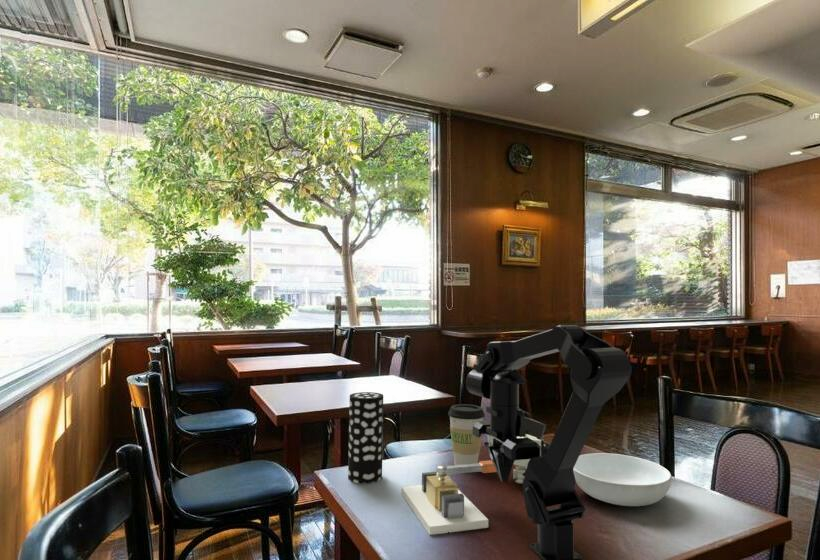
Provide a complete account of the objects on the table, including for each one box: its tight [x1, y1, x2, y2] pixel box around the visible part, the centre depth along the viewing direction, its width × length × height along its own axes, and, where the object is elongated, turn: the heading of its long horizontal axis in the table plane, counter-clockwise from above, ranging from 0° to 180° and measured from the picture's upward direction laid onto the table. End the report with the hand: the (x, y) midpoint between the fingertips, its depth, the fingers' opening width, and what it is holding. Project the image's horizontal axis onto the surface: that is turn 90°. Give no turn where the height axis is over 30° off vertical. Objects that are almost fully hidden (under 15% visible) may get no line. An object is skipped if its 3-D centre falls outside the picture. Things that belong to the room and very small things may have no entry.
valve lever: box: [436, 459, 497, 481], centre depth 105 cm, size 14×2×3 cm, turn 106°
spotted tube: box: [347, 391, 384, 484], centre depth 121 cm, size 8×8×20 cm
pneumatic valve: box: [512, 434, 551, 485], centre depth 119 cm, size 6×12×12 cm, turn 78°
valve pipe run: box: [421, 471, 465, 519], centre depth 103 cm, size 16×5×4 cm, turn 16°
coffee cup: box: [447, 403, 486, 465], centre depth 131 cm, size 10×10×15 cm
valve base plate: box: [400, 484, 489, 536], centre depth 103 cm, size 20×12×2 cm, turn 16°
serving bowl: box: [573, 452, 672, 507], centre depth 110 cm, size 21×21×7 cm
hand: (504, 481), depth 99 cm, fingers closed
